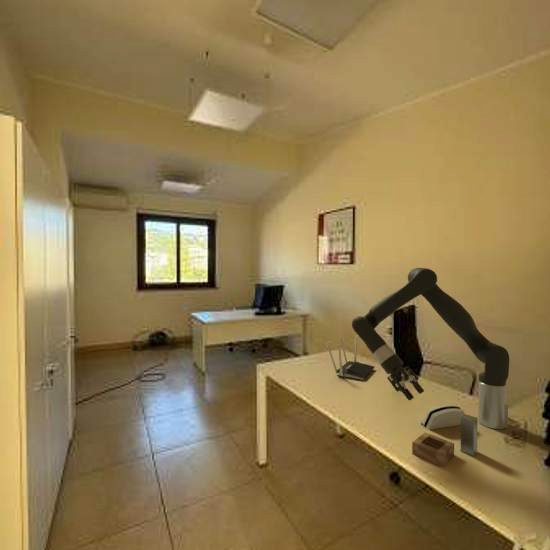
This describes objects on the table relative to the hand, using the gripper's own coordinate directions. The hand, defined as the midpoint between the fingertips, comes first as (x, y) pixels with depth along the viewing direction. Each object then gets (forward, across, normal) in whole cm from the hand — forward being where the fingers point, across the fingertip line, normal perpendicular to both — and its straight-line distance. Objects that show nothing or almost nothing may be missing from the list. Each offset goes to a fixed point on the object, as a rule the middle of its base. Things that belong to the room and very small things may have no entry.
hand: (417, 395), depth 117 cm
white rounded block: (+14, +20, +12) cm, 27 cm away
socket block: (+17, -4, +8) cm, 19 cm away
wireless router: (-32, +48, +57) cm, 81 cm away
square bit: (+23, +8, +2) cm, 24 cm away
